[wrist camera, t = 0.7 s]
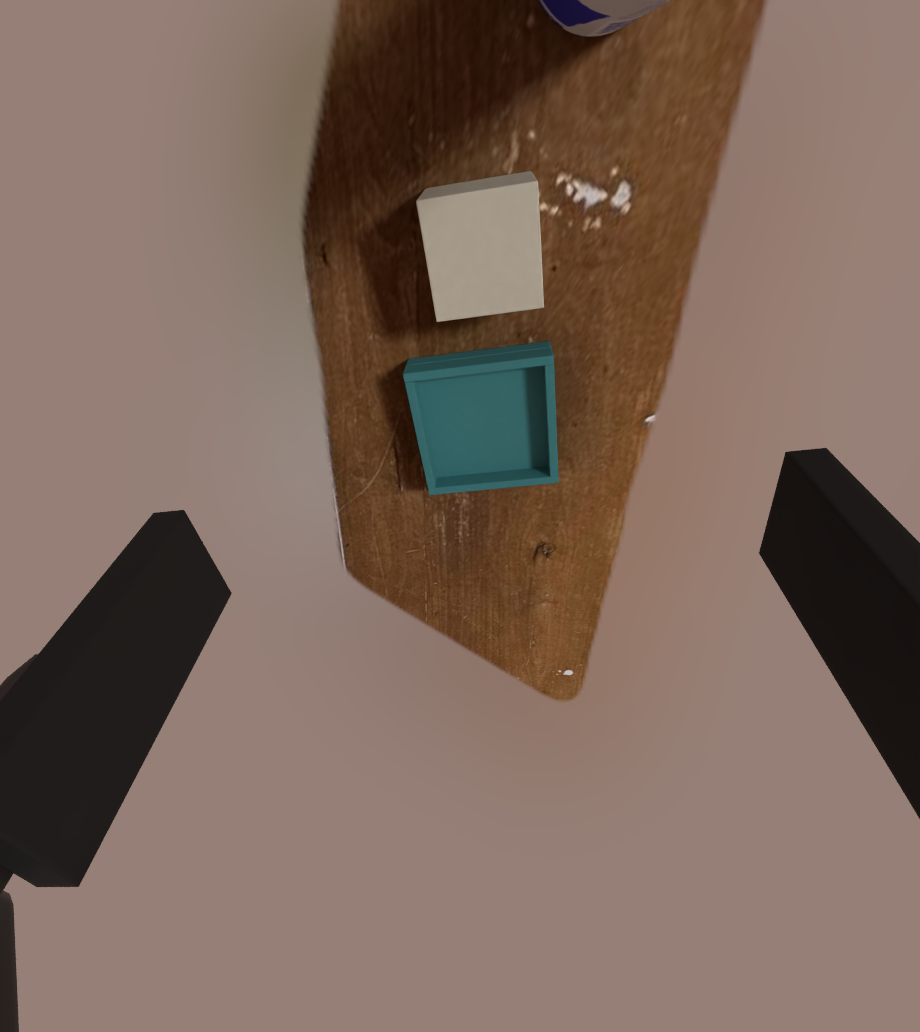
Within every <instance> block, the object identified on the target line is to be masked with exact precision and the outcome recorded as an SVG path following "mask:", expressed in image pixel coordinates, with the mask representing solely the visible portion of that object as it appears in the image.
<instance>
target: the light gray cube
mask: <svg viewBox="0 0 920 1032" xmlns="http://www.w3.org/2000/svg"><path fill="white" fill-rule="evenodd" d="M416 204H417V209H418V215H419V221H420V227H421V233H422V239H423V245H424V251H425V257H426V263H427V269H428V274H429V280H430V286H431V292H432V298H433V304H434V310H435V316H436V321H437V322H441V321H449V320H456V319H464V318H471V317H479V316H486V315H493V314H501V313H508V312H516V311H523V310H530V309H538V308H543V307H544V298H543V277H542V256H541V235H540V214H539V193H538V181H537V179H536V178H535V176H534V175H533V173H532V172H531V171H527V172H521V173H515V174H509V175H503V176H497V177H491V178H485V179H479V180H473V181H467V182H461V183H455V184H449V185H443V186H437V187H431V188H426V189H425V190H424V191H423V192H422V194H421V195H420V197H419V198H418V199H417V201H416Z"/></svg>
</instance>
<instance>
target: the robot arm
mask: <svg viewBox="0 0 920 1032" xmlns="http://www.w3.org/2000/svg"><path fill="white" fill-rule="evenodd" d="M759 554H760V556H761V557H762V559H763V561H764V562H765V564H766V566H767V567H768V569H769V570H770V572H771V574H772V575H773V577H774V579H775V580H776V582H777V584H778V585H779V587H780V589H781V590H782V592H783V594H784V595H785V597H786V599H787V600H788V602H789V603H790V605H791V607H792V609H793V610H794V612H795V613H796V615H797V617H798V618H799V620H800V622H801V623H802V625H803V627H804V628H805V630H806V632H807V633H808V635H809V637H810V638H811V640H812V641H813V643H814V645H815V647H816V648H817V650H818V652H819V653H820V655H821V656H822V658H823V660H824V661H825V663H826V665H827V666H828V668H829V669H830V671H831V673H832V675H833V676H834V678H835V680H836V681H837V683H838V685H839V686H840V688H841V689H842V691H843V693H844V694H845V696H846V698H847V699H848V701H849V703H850V704H851V706H852V708H853V709H854V711H855V712H856V714H857V716H858V718H859V719H860V721H861V723H862V724H863V726H864V727H865V729H866V731H867V732H868V734H869V736H870V737H871V739H872V741H873V742H874V744H875V746H876V747H877V749H878V751H879V752H880V754H881V756H882V757H883V759H884V760H885V762H886V764H887V766H888V767H889V769H890V770H891V772H892V774H893V775H894V777H895V779H896V780H897V782H898V784H899V785H900V787H901V789H902V790H903V792H904V793H905V795H906V797H907V799H908V800H909V802H910V803H911V805H912V807H913V808H914V810H915V812H916V813H917V815H918V817H919V818H920V543H919V542H918V541H917V540H916V539H915V538H914V537H913V536H912V535H911V534H910V533H909V532H908V531H907V530H906V529H905V528H904V527H903V526H902V524H900V522H899V521H898V520H896V519H895V517H894V516H893V515H892V514H891V513H890V512H889V511H888V510H887V509H886V508H885V507H884V506H883V505H882V504H881V503H880V502H879V501H878V500H877V499H876V498H875V497H874V496H873V495H872V494H871V493H870V492H869V491H868V490H867V489H866V488H865V487H864V486H863V485H862V484H861V483H860V482H859V481H858V480H857V479H856V478H855V477H854V476H853V475H852V474H851V473H850V472H849V471H848V470H847V469H846V468H845V467H844V466H843V465H842V464H841V463H840V462H839V461H838V460H837V459H836V458H835V457H834V455H833V454H831V453H830V451H829V450H828V449H827V448H822V449H811V450H801V451H790V452H786V453H785V457H784V460H783V464H782V468H781V472H780V476H779V479H778V483H777V487H776V491H775V495H774V498H773V502H772V506H771V510H770V514H769V518H768V521H767V525H766V529H765V533H764V537H763V540H762V544H761V548H760V552H759ZM230 595H231V591H230V590H229V588H228V586H227V584H226V583H225V581H224V579H223V577H222V576H221V574H220V572H219V570H218V569H217V567H216V565H215V564H214V562H213V560H212V558H211V557H210V555H209V553H208V551H207V549H206V548H205V546H204V544H203V542H202V541H201V539H200V537H199V535H198V534H197V532H196V530H195V528H194V527H193V525H192V523H191V521H190V520H189V518H188V516H187V514H186V513H185V511H184V510H179V511H169V512H160V513H153V514H152V516H151V517H150V518H149V519H148V521H147V522H146V523H145V524H144V525H143V527H142V528H141V529H140V530H139V532H138V533H137V534H136V535H135V537H134V538H133V539H132V540H131V541H130V543H129V544H128V545H127V547H125V549H124V550H123V551H122V553H121V554H120V555H119V556H118V557H117V559H116V560H115V561H114V562H113V563H112V565H111V566H110V567H109V568H108V570H107V571H106V572H105V573H104V575H103V576H102V577H101V578H100V579H99V581H98V582H97V583H96V585H95V586H94V587H93V588H92V589H91V590H90V592H89V593H88V594H87V595H86V597H85V598H84V599H83V600H82V601H81V603H80V604H79V605H78V606H77V608H76V609H75V610H74V611H73V613H72V614H71V615H70V616H69V617H68V619H67V620H66V621H65V622H64V624H63V625H62V626H61V627H60V629H59V630H58V631H57V632H56V633H55V635H54V636H53V637H52V638H51V640H50V641H49V642H48V643H47V645H46V646H45V647H44V648H43V649H42V651H41V652H40V653H39V654H37V655H36V654H35V655H34V656H33V657H32V658H31V659H29V660H28V661H27V662H26V663H24V664H23V665H22V666H21V667H19V668H18V669H17V670H16V671H15V672H13V673H12V674H11V675H10V676H9V677H7V678H6V680H5V681H4V682H3V683H2V684H1V686H0V1032H19V1024H18V1002H17V978H16V957H15V956H16V955H15V933H14V911H13V910H14V909H13V903H12V900H11V897H10V894H9V893H7V892H5V891H3V889H4V888H5V886H6V885H7V883H8V881H9V880H10V878H11V876H12V874H13V873H14V874H16V875H18V876H19V877H21V878H23V879H24V880H26V881H28V882H29V883H31V884H33V885H34V886H36V887H78V886H79V885H80V883H81V881H82V879H83V877H84V875H85V873H86V872H87V870H88V868H89V866H90V864H91V862H92V860H93V858H94V856H95V854H96V852H97V850H98V849H99V847H100V845H101V843H102V841H103V839H104V837H105V835H106V833H107V831H108V829H109V827H110V825H111V824H112V821H113V820H114V818H115V816H116V814H117V812H118V810H119V808H120V806H121V804H122V803H123V801H124V799H125V796H126V795H127V793H128V791H129V789H130V787H131V785H132V783H133V781H134V780H135V778H136V776H137V774H138V772H139V770H140V768H141V766H142V764H143V762H144V760H145V758H146V756H147V755H148V752H149V751H150V749H151V747H152V745H153V743H154V741H155V739H156V737H157V735H158V733H159V731H160V730H161V728H162V726H163V724H164V722H165V720H166V718H167V716H168V714H169V712H170V710H171V709H172V707H173V705H174V703H175V701H176V699H177V697H178V695H179V693H180V691H181V689H182V688H183V686H184V684H185V682H186V680H187V678H188V676H189V674H190V672H191V670H192V668H193V666H194V664H195V663H196V661H197V659H198V657H199V655H200V653H201V651H202V649H203V647H204V645H205V643H206V641H207V639H208V638H209V636H210V634H211V632H212V630H213V628H214V626H215V624H216V622H217V620H218V618H219V616H220V614H221V613H222V611H223V609H224V607H225V605H226V603H227V601H228V599H229V597H230Z"/></svg>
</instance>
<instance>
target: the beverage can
mask: <svg viewBox="0 0 920 1032" xmlns="http://www.w3.org/2000/svg"><path fill="white" fill-rule="evenodd" d="M538 1H539V3H540V5H541V6H542V8H543V9H544V11H545V12H546V13H547V15H548V16H549V17H550V18H551V19H552V20H553V21H554V22H555V23H556V24H557V25H559V26H560V27H561V28H563V29H565V30H566V31H568V32H571V33H573V34H576V35H580V36H588V37H592V36H602V35H606V34H609V33H612V32H614V31H616V30H618V29H620V28H622V27H624V26H626V25H628V24H629V23H631V22H633V21H635V20H637V19H638V18H640V17H642V16H644V15H646V14H648V13H649V12H651V11H653V10H655V9H657V8H658V7H660V6H662V5H664V4H666V3H667V2H669V1H671V0H538Z"/></svg>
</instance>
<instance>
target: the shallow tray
mask: <svg viewBox="0 0 920 1032" xmlns="http://www.w3.org/2000/svg"><path fill="white" fill-rule="evenodd" d="M403 378H404V382H405V387H406V391H407V396H408V400H409V405H410V409H411V414H412V418H413V423H414V428H415V432H416V437H417V441H418V446H419V450H420V455H421V459H422V464H423V468H424V473H425V478H426V482H427V487H428V491H429V495H435V494H445V493H456V492H466V491H476V490H487V489H497V488H508V487H518V486H529V485H539V484H549V483H558V482H559V480H558V454H557V429H556V403H555V378H554V355H553V352H552V348H551V345H550V342H549V341H547V342H539V343H531V344H523V345H515V346H507V347H500V348H492V349H484V350H476V351H468V352H460V353H452V354H445V355H437V356H429V357H421V358H413V359H408V361H407V364H406V366H405V369H404V372H403Z"/></svg>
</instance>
